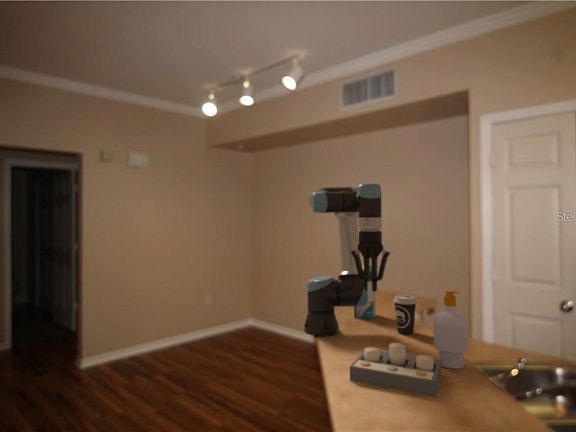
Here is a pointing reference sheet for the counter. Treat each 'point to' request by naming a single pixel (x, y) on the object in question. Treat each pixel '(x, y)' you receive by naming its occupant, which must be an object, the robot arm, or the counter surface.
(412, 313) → the coffee cup
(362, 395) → the counter surface
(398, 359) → the button
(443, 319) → the soap bottle
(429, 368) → the button
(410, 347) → the counter surface
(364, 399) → the counter surface
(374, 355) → the button
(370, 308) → the milk carton
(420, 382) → the board
